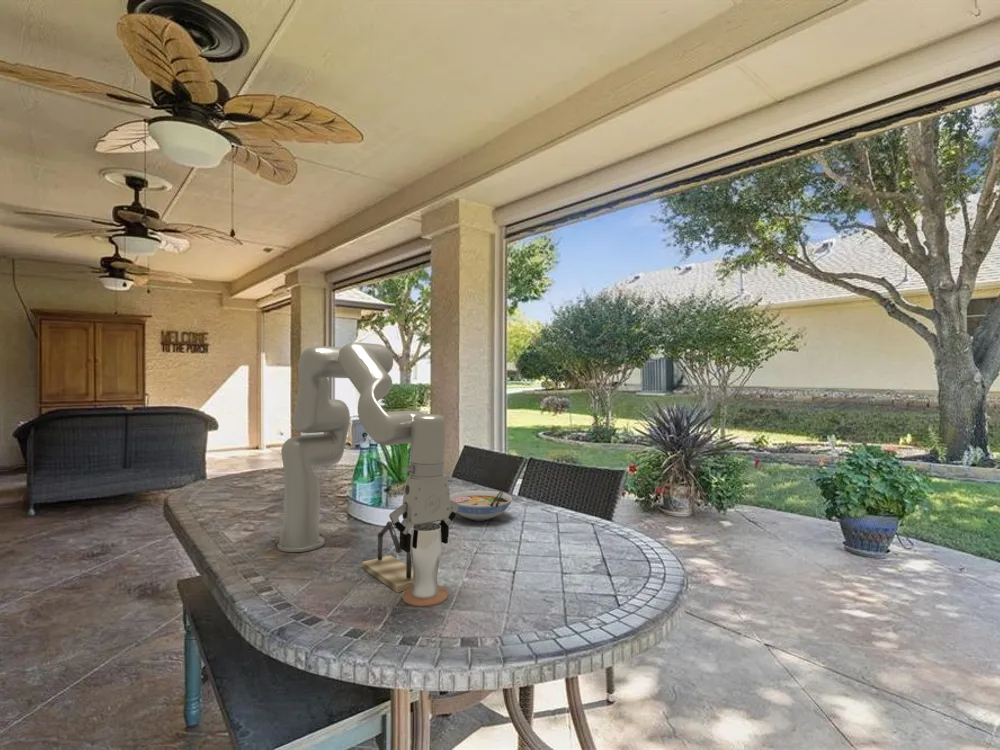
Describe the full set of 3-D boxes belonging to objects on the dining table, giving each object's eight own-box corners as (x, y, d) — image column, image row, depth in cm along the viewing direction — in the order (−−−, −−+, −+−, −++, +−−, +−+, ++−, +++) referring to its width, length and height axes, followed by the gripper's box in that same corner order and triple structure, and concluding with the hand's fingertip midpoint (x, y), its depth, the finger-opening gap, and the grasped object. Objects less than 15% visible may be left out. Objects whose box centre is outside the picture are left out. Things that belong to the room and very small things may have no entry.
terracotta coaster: (396, 605, 107) (396, 602, 107) (409, 586, 116) (409, 583, 116) (442, 607, 106) (442, 605, 106) (451, 588, 116) (451, 585, 116)
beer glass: (434, 602, 107) (436, 532, 107) (404, 598, 108) (405, 529, 108) (444, 588, 114) (446, 523, 114) (416, 585, 115) (417, 520, 115)
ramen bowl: (455, 508, 189) (456, 486, 189) (515, 511, 186) (516, 489, 186) (438, 526, 164) (439, 502, 164) (507, 530, 161) (508, 505, 161)
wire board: (361, 567, 127) (361, 561, 127) (390, 561, 132) (390, 555, 132) (397, 592, 113) (397, 586, 113) (427, 584, 118) (427, 577, 118)
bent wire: (375, 559, 128) (376, 516, 129) (381, 557, 129) (382, 515, 130) (407, 579, 116) (408, 532, 116) (413, 577, 117) (413, 531, 117)
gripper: (400, 476, 103) (397, 559, 103) (468, 468, 114) (465, 543, 114) (383, 470, 109) (381, 548, 109) (449, 463, 120) (447, 534, 120)
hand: (424, 546), depth 111 cm, fingers open, 9 cm apart
